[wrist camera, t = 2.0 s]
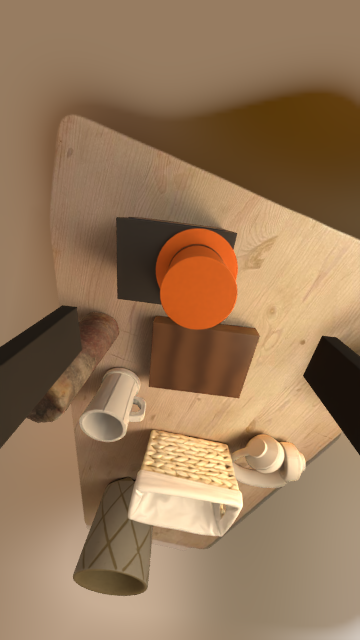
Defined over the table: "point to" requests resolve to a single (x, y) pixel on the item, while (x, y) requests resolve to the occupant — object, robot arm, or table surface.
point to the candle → (78, 367)
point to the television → (147, 254)
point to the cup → (113, 406)
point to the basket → (186, 485)
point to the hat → (197, 278)
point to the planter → (115, 547)
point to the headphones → (268, 462)
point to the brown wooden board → (201, 357)
